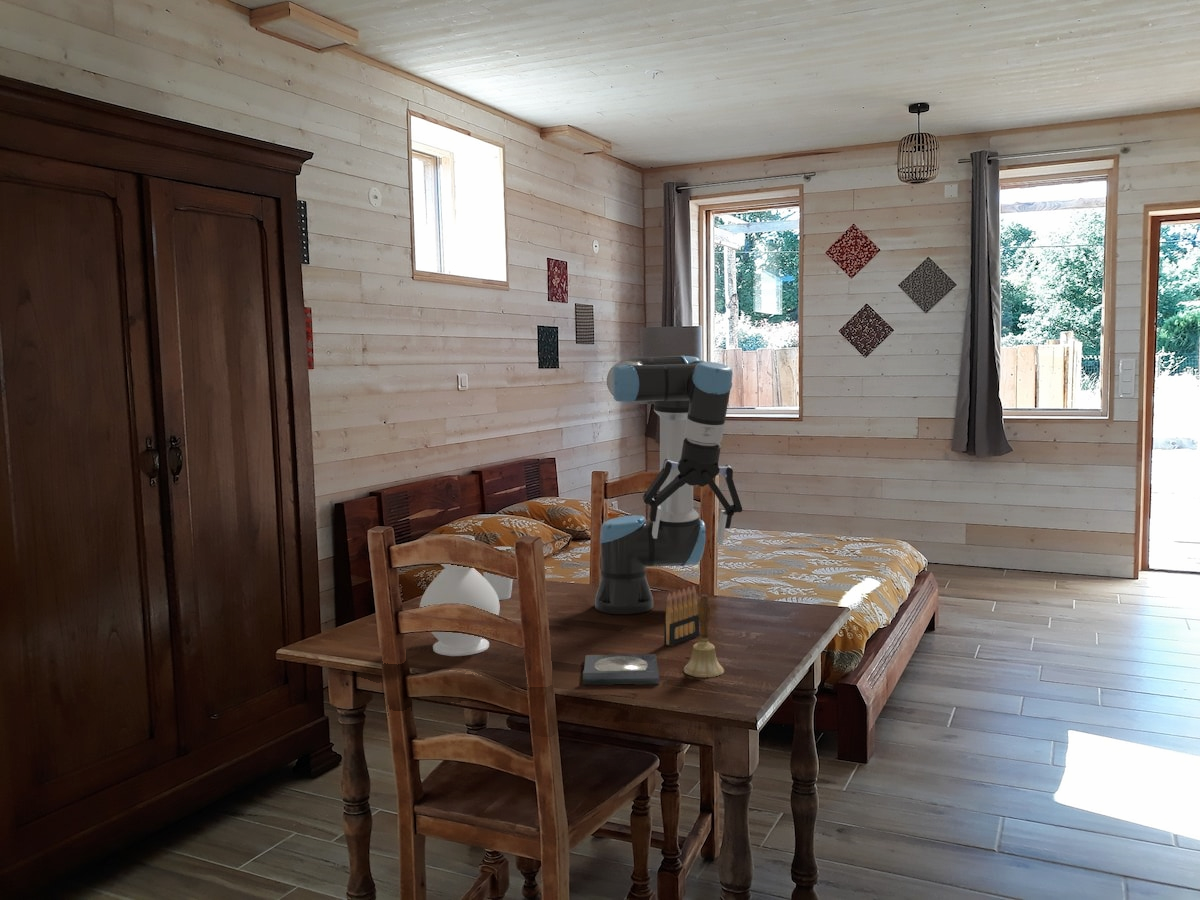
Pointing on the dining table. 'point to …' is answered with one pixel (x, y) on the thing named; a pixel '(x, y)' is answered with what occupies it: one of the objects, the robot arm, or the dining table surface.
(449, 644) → the decorative vase
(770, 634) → the dining table surface
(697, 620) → the ammunition clip
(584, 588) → the dining table surface
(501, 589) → the foam cup
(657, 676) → the plate
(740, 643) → the dining table surface
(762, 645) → the dining table surface
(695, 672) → the hand bell
